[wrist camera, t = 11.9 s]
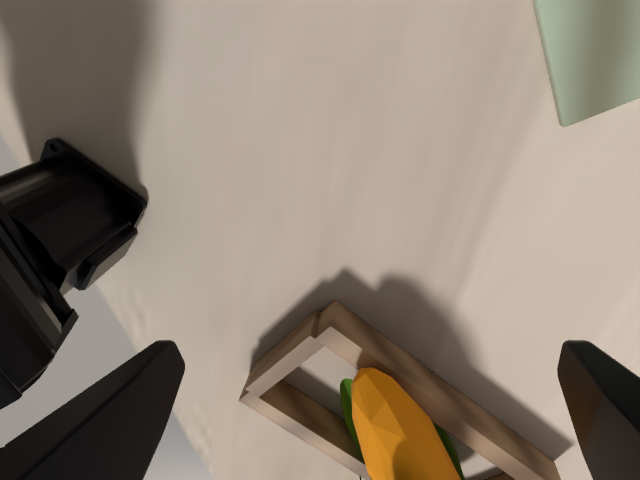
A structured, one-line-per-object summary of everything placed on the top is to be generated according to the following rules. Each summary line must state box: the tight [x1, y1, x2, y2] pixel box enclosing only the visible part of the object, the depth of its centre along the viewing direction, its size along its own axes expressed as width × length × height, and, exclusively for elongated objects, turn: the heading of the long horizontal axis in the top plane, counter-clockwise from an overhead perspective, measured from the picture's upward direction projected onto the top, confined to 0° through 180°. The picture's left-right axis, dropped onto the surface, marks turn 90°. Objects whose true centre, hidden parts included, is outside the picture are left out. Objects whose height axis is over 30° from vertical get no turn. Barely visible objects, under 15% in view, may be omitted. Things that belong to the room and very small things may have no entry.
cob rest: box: [239, 300, 561, 480], centre depth 29 cm, size 24×11×2 cm, turn 52°
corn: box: [340, 367, 465, 480], centre depth 26 cm, size 7×8×20 cm
